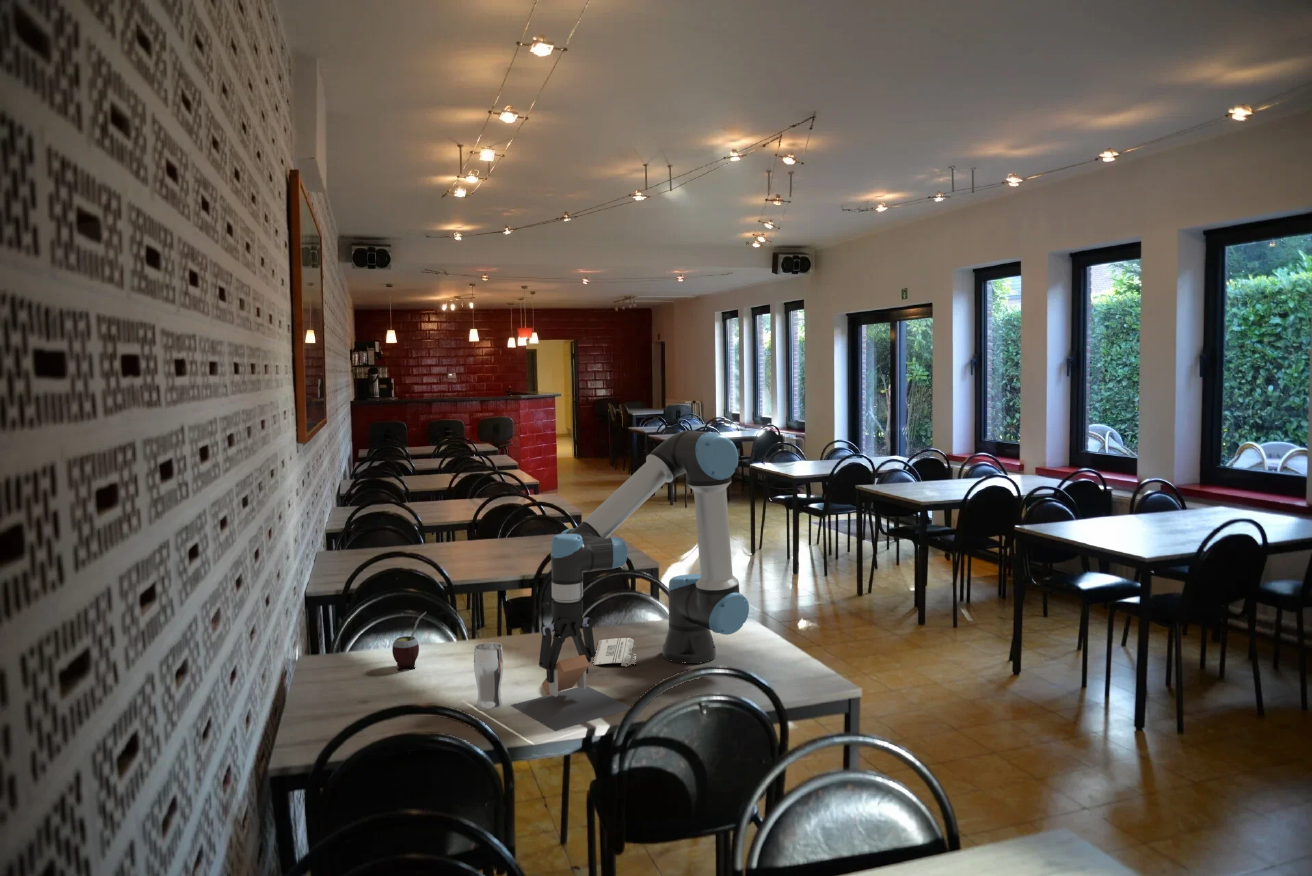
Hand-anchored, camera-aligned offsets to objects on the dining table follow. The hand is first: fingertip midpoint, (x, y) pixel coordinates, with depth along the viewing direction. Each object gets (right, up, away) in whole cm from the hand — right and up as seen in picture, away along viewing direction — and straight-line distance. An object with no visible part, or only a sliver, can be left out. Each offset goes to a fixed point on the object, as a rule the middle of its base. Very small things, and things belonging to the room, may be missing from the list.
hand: (567, 690), depth 221 cm
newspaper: (+10, -1, +39) cm, 40 cm away
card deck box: (-3, 0, +4) cm, 5 cm away
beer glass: (-19, -4, -2) cm, 19 cm away
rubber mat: (+1, -3, -3) cm, 4 cm away
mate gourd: (-46, -1, +27) cm, 54 cm away
